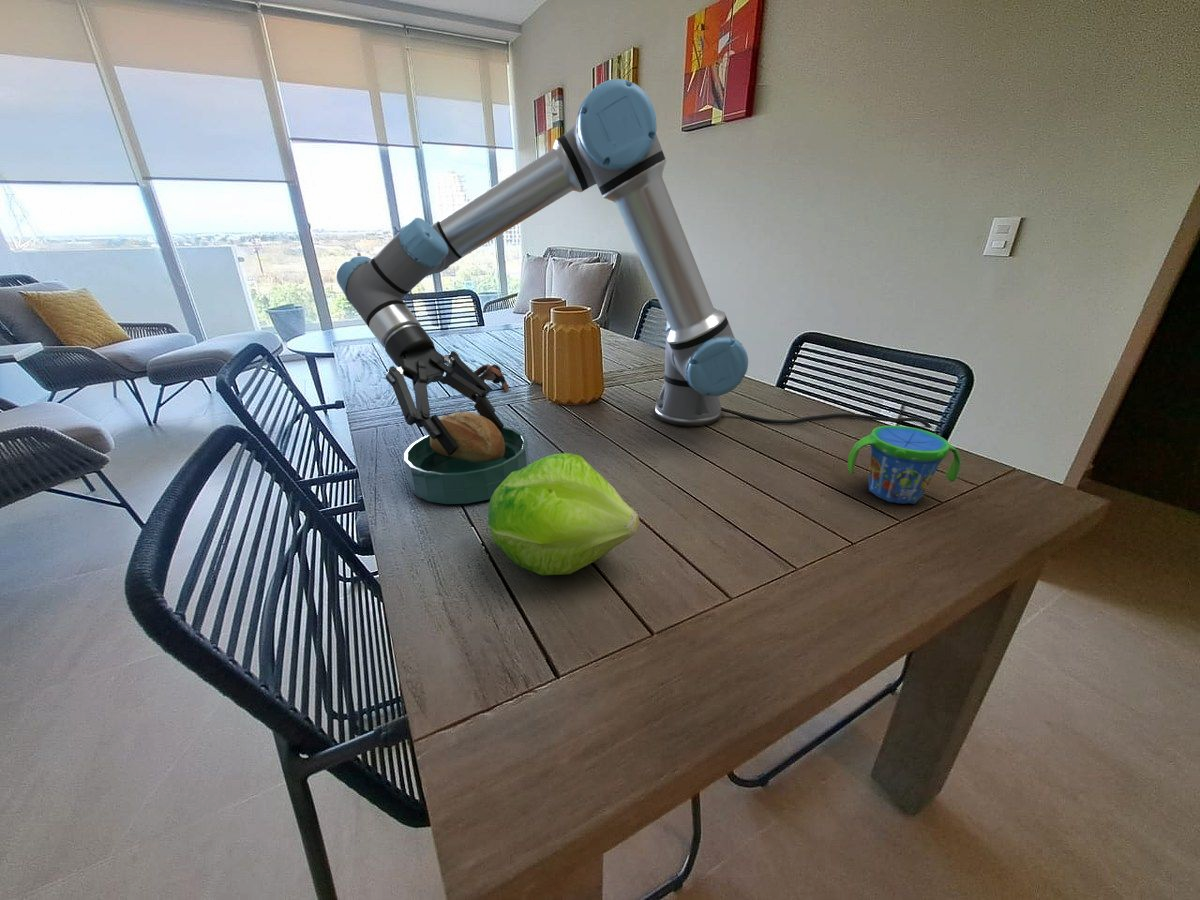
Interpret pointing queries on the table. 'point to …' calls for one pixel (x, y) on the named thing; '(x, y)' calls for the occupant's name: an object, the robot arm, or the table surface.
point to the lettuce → (558, 515)
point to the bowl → (462, 471)
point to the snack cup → (904, 461)
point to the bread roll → (472, 437)
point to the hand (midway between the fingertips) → (477, 440)
